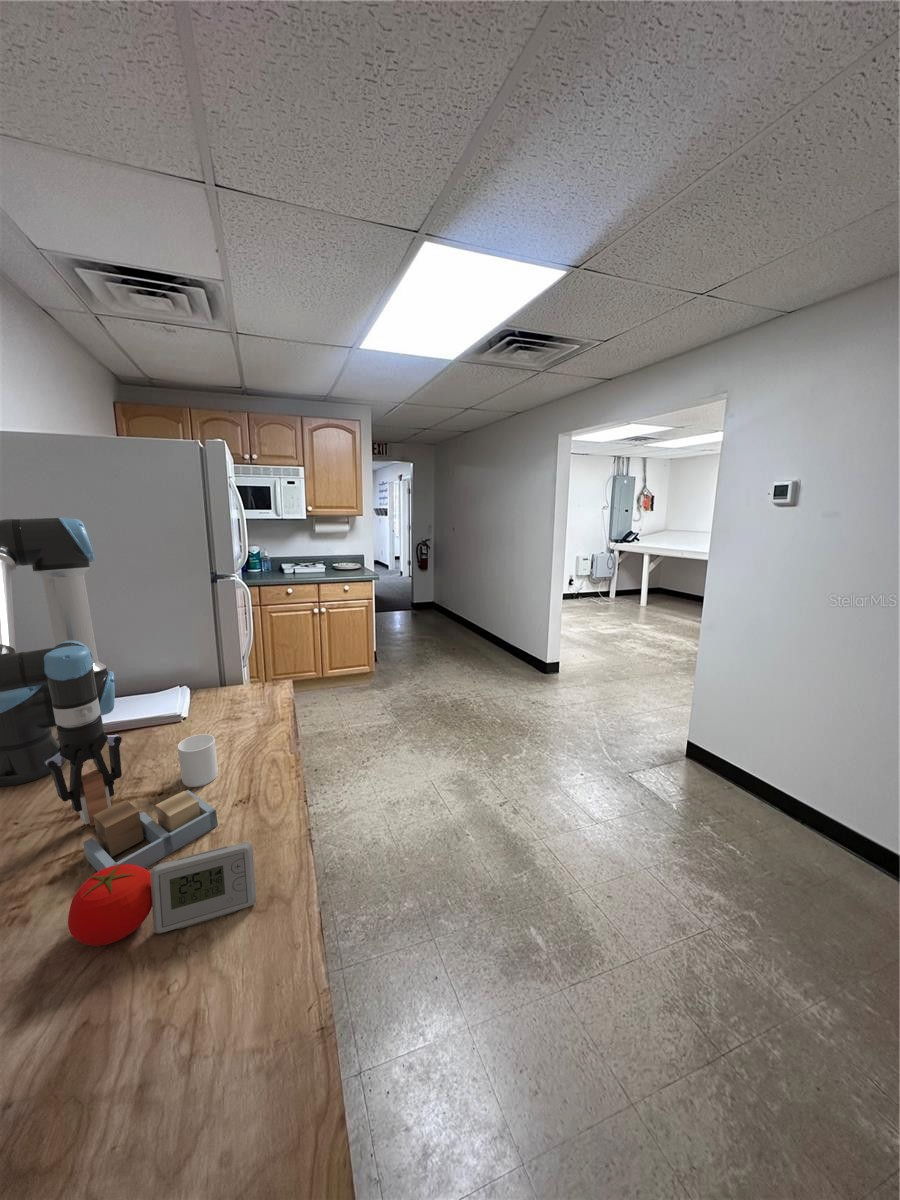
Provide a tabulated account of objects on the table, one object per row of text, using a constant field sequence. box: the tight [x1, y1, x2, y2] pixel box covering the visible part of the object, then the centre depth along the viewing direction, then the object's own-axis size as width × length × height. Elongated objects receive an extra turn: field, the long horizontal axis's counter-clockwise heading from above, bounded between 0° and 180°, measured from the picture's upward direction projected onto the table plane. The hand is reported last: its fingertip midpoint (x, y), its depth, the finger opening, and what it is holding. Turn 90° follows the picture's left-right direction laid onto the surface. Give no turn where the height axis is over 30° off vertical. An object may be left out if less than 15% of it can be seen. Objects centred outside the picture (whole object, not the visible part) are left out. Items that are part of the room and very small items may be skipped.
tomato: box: [67, 864, 152, 947], centre depth 79 cm, size 11×12×10 cm
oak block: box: [155, 790, 200, 833], centre depth 102 cm, size 6×6×7 cm
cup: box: [177, 733, 219, 788], centre depth 121 cm, size 8×12×10 cm
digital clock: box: [150, 842, 257, 934], centre depth 83 cm, size 16×9×11 cm, turn 102°
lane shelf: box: [83, 789, 219, 872], centre depth 99 cm, size 12×20×4 cm, turn 145°
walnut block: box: [81, 767, 145, 858], centre depth 99 cm, size 17×6×11 cm, turn 56°
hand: (96, 815), depth 104 cm, fingers closed on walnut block, 3 cm apart
